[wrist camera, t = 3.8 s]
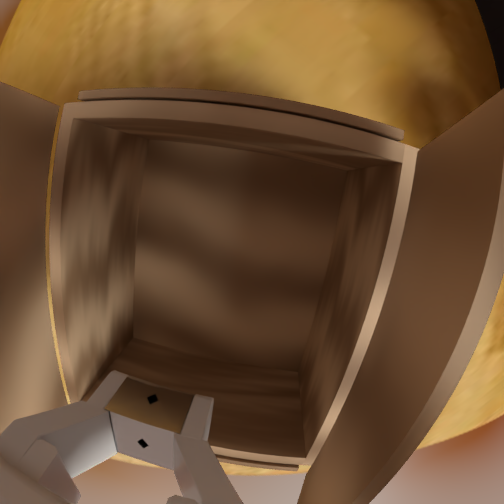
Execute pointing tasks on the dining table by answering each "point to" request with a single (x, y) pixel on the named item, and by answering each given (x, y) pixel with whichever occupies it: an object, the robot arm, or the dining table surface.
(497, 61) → the product box
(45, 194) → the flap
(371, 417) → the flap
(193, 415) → the robot arm
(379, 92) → the dining table surface
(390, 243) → the carton
